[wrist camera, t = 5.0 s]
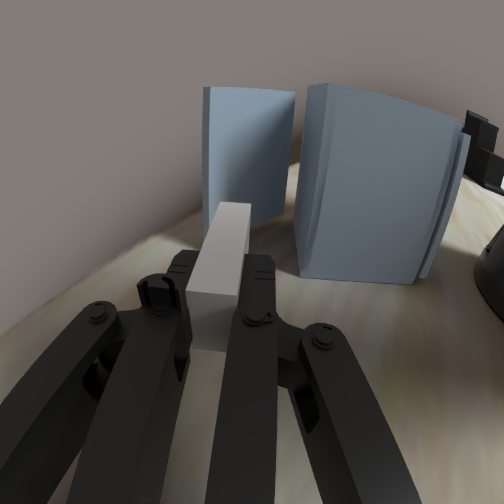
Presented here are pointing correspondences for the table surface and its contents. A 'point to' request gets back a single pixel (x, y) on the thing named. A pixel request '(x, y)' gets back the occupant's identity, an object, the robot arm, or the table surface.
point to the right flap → (246, 150)
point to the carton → (374, 185)
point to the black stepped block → (483, 153)
